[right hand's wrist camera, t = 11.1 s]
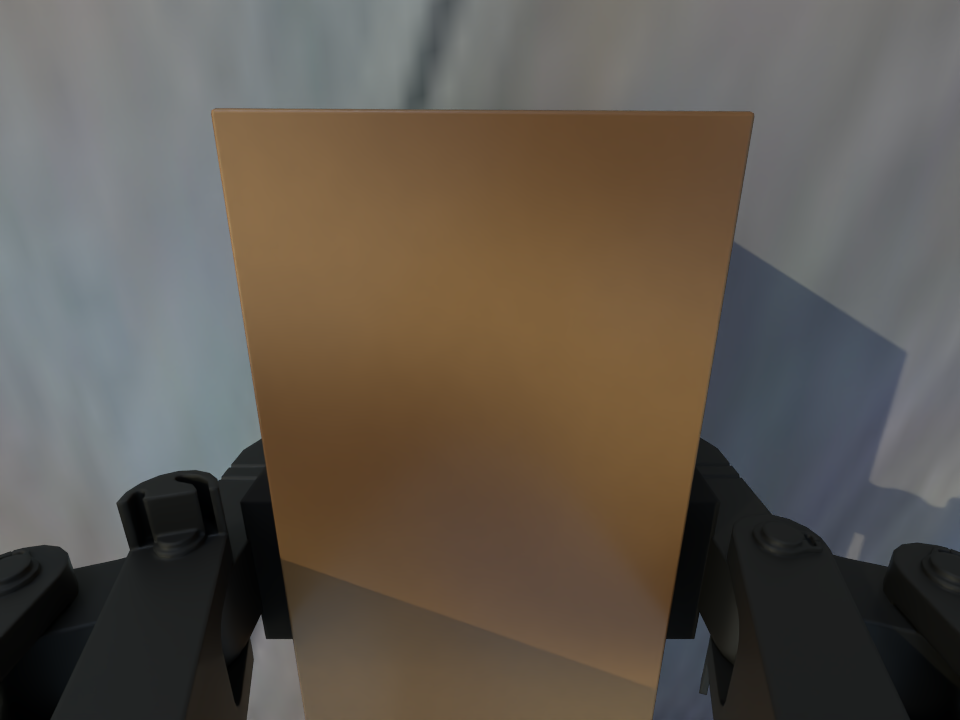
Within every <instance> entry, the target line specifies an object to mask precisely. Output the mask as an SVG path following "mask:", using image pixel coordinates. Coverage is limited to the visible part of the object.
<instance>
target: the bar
mask: <svg viewBox="0 0 960 720" xmlns="http://www.w3.org/2000/svg"><path fill="white" fill-rule="evenodd" d="M211 115H212V122H213V128H214V135H215V141H216V147H217V154H218V160H219V167H220V173H221V180H222V186H223V192H224V199H225V205H226V212H227V218H228V225H229V231H230V237H231V244H232V250H233V257H234V263H235V270H236V276H237V283H238V289H239V295H240V302H241V308H242V315H243V321H244V328H245V334H246V340H247V347H248V353H249V360H250V366H251V373H252V379H253V385H254V392H255V398H256V405H257V411H258V418H259V424H260V430H261V437H262V443H263V450H264V456H265V463H266V469H267V475H268V482H269V488H270V495H271V501H272V508H273V514H274V521H275V527H276V533H277V540H278V546H279V553H280V559H281V566H282V572H283V578H284V585H285V591H286V598H287V604H288V611H289V617H290V623H291V630H292V636H293V643H294V649H295V656H296V662H297V668H298V675H299V681H300V688H301V694H302V701H303V707H304V713H305V720H652V718H653V712H654V706H655V701H656V695H657V689H658V683H659V677H660V671H661V665H662V659H663V653H664V647H665V641H666V636H667V630H668V624H669V618H670V612H671V606H672V600H673V594H674V588H675V582H676V576H677V570H678V565H679V559H680V553H681V547H682V541H683V535H684V529H685V523H686V517H687V511H688V505H689V500H690V494H691V488H692V482H693V476H694V470H695V464H696V458H697V452H698V446H699V440H700V434H701V429H702V423H703V417H704V411H705V405H706V399H707V393H708V387H709V381H710V375H711V369H712V364H713V358H714V352H715V346H716V340H717V334H718V328H719V322H720V316H721V310H722V304H723V298H724V293H725V287H726V281H727V275H728V269H729V263H730V257H731V251H732V245H733V239H734V233H735V228H736V222H737V216H738V210H739V204H740V198H741V192H742V186H743V180H744V174H745V168H746V162H747V157H748V151H749V145H750V139H751V133H752V127H753V121H754V113H752V112H750V111H595V110H422V109H250V108H215V109H213V110H212V112H211Z"/></svg>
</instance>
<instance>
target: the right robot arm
mask: <svg viewBox="0 0 960 720" xmlns="http://www.w3.org/2000/svg"><path fill="white" fill-rule="evenodd" d="M117 507H118V510H119V514H120V517H121V521H122V524H123V527H124V531H125V534H126V538H127V541H128V545H129V548H130V551H129V553H128V556H127V557H126V558H122V559H119V560H114V561H109V562H105V563H100V564H95V565H90V566H86V567H81V568H76V569H73V567H72V564H71V561H70V558H69V555H68V553H67V552H66V551H64V550H63V549H62V548H60V547H57V546H48V545H41V546H34V547H27V548H21V549H17V550H14V551H13V552H11V551H10V552H7V553H5V554H2V555H0V720H247V711H248V703H249V695H250V686H251V678H252V670H253V661H254V658H253V651H252V645H251V640H250V636H251V634H252V632H253V630H254V628H255V626H256V624H257V622H258V619H259V617H260V615H262V620H263V625H264V630H265V636H266V639H293V636H292V630H291V623H290V617H289V611H288V604H287V598H286V591H285V585H284V578H283V572H282V566H281V559H280V553H279V546H278V540H277V533H276V527H275V521H274V514H273V508H272V501H271V495H270V488H269V482H268V475H267V469H266V463H265V456H264V450H263V443H262V439H260V440H259V441H257V442H256V443H254V444H252V445H251V446H249V447H248V448H246V449H244V450H243V451H242V452H241V454H240V455H239V456H238V457H237V458H236V460H235V461H234V462H233V463H232V465H231V468H228V470H227V471H226V472H225V473H224V474H223V476H222V479H221V480H219V481H218V480H217V478H215V477H214V476H213V475H211V474H210V473H207V472H202V471H197V470H190V471H177V472H172V473H168V474H164V475H159V476H157V477H154V478H152V479H149V480H147V481H144V482H142V483H140V484H139V485H137V486H135V487H134V488H132V489H131V490H129V491H127V492H126V493H125V494H124V495H123V496H122V497H121V498H120V500H119V501H118V502H117ZM699 612H700V614H701V616H702V618H703V620H704V622H705V624H706V626H707V628H708V630H709V632H710V634H711V635H710V640H709V645H708V650H707V655H706V660H705V664H704V669H703V674H702V679H701V685H700V692H699V693H700V694H704V695H707V691H708V686H709V685H710V693H711V702H712V710H713V718H714V720H960V552H958V551H955V550H952V549H951V550H950V549H948V548H946V547H942V546H937V545H930V544H923V543H910V544H902V545H901V546H899V547H898V548H897V549H895V550H894V551H893V554H892V557H891V560H890V563H889V566H888V567H886V566H881V565H877V564H872V563H867V562H862V561H857V560H853V559H848V558H843V557H840V556H836V555H832V552H831V550H830V549H829V547H828V546H827V545H826V544H825V542H824V541H823V540H822V538H821V537H819V536H818V535H817V534H815V533H814V532H812V531H811V530H810V529H808V528H807V527H805V526H803V525H801V524H799V523H796V522H794V521H792V520H790V519H787V518H783V517H779V516H775V515H772V514H771V513H770V512H769V511H768V509H767V508H766V507H765V506H764V504H763V503H762V502H761V501H760V500H759V498H758V497H757V496H756V495H755V493H754V492H753V491H752V490H751V489H750V487H749V486H748V485H747V484H746V482H745V481H744V480H743V479H742V478H739V474H738V473H737V472H736V470H735V469H734V468H733V467H732V466H730V465H729V462H728V461H727V459H726V458H725V457H724V456H723V454H722V453H721V452H720V451H719V450H718V448H716V447H714V446H713V445H711V444H710V443H708V442H706V441H705V440H703V439H702V438H700V440H699V446H698V452H697V458H696V464H695V470H694V476H693V482H692V488H691V494H690V500H689V505H688V511H687V517H686V523H685V529H684V535H683V541H682V547H681V553H680V559H679V565H678V570H677V576H676V582H675V588H674V594H673V600H672V606H671V612H670V618H669V624H668V630H667V636H666V639H694V638H695V633H696V627H697V622H698V617H699Z"/></svg>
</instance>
